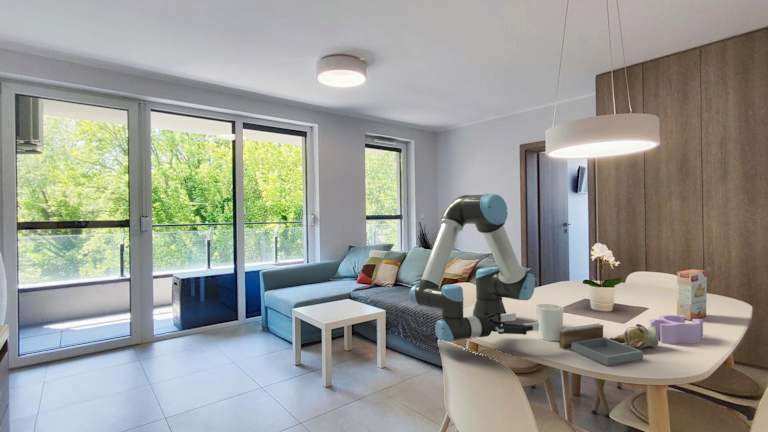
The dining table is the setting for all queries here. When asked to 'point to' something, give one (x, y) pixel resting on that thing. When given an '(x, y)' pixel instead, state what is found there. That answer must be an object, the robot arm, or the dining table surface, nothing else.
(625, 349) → the blue gray square tray
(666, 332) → the clip
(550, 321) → the white cup
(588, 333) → the board
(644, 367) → the dining table surface
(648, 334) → the ceramic sculpture
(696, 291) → the cracker box
